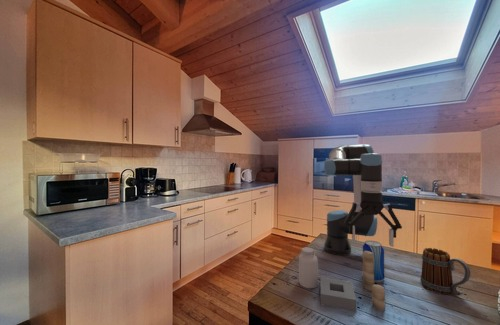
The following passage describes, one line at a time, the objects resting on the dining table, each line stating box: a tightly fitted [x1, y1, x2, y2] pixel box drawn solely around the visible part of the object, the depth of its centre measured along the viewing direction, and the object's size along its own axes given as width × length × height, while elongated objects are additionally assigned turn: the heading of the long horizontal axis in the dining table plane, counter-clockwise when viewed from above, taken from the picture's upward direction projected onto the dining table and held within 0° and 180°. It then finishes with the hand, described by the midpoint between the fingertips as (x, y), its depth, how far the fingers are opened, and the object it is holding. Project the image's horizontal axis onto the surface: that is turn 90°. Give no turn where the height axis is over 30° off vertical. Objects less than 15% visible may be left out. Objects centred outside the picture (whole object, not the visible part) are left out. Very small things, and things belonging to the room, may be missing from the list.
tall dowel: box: [362, 250, 375, 293], centre depth 87 cm, size 4×4×15 cm
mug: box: [420, 247, 471, 296], centre depth 85 cm, size 16×11×15 cm
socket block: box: [319, 276, 357, 312], centre depth 82 cm, size 12×12×4 cm
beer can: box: [362, 240, 385, 283], centre depth 95 cm, size 8×8×16 cm
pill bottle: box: [298, 246, 319, 289], centre depth 91 cm, size 8×8×15 cm
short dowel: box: [371, 284, 386, 312], centre depth 76 cm, size 4×4×7 cm
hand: (371, 243), depth 85 cm, fingers open, 13 cm apart
